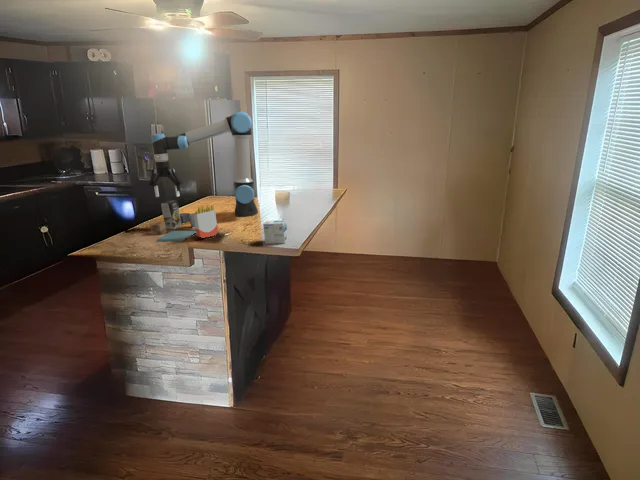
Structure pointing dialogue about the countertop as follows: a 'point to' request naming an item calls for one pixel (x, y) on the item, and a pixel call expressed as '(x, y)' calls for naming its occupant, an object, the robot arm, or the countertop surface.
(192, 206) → the countertop surface
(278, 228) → the light bulb box
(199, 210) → the french fries container
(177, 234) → the pad
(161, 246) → the countertop surface
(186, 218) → the charcoal box
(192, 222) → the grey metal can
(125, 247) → the countertop surface
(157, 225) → the walnut block
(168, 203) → the coffee box
